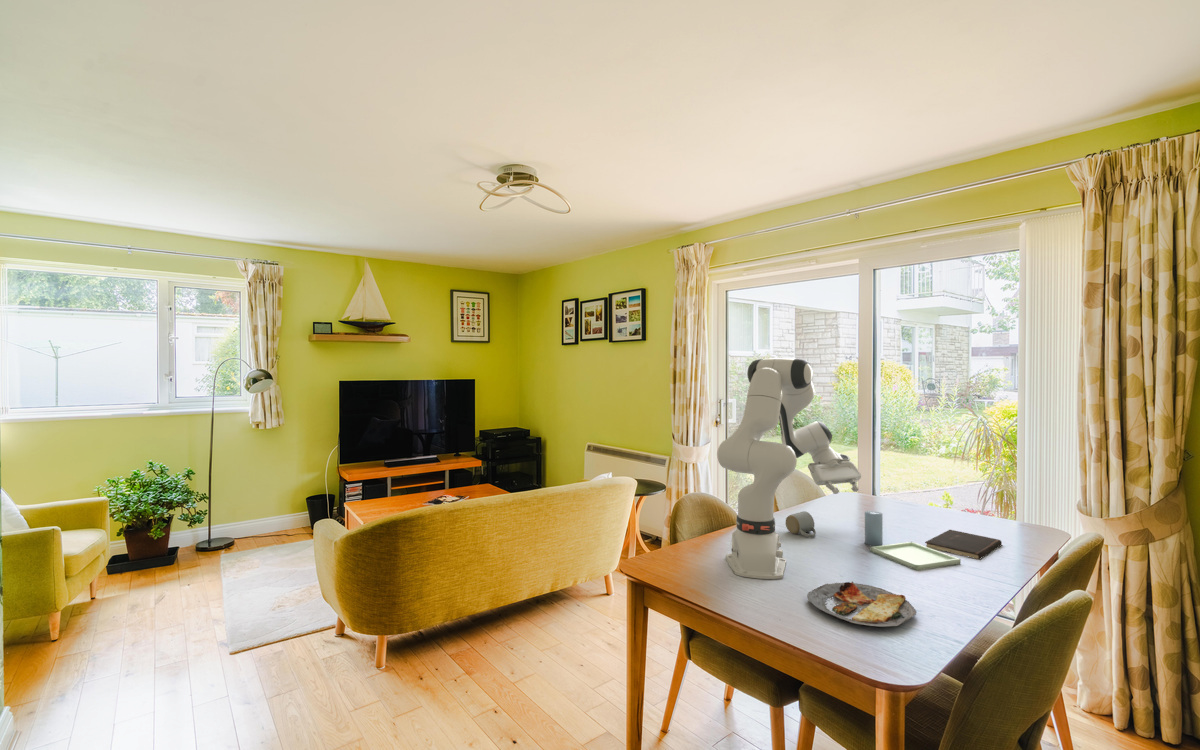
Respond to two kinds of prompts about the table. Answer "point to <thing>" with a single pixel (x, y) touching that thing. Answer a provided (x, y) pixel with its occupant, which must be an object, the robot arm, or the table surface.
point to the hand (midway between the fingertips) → (846, 492)
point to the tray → (915, 555)
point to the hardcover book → (963, 543)
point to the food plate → (863, 604)
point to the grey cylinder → (873, 528)
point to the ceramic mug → (801, 524)
